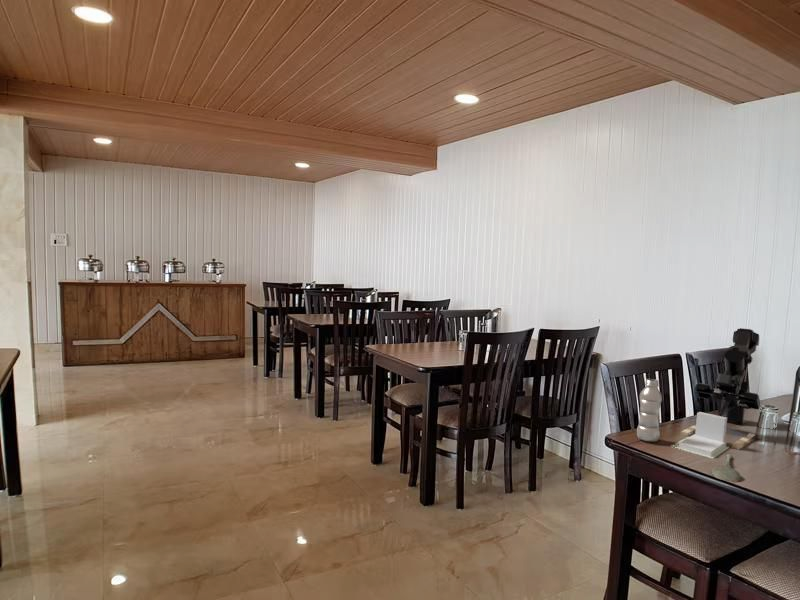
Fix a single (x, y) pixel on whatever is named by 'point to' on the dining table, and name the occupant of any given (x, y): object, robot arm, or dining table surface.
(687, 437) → the mat
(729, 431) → the mat
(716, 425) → the white l-shaped bracket
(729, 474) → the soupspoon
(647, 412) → the plastic bottle
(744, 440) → the channel
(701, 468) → the dining table surface
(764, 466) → the dining table surface
